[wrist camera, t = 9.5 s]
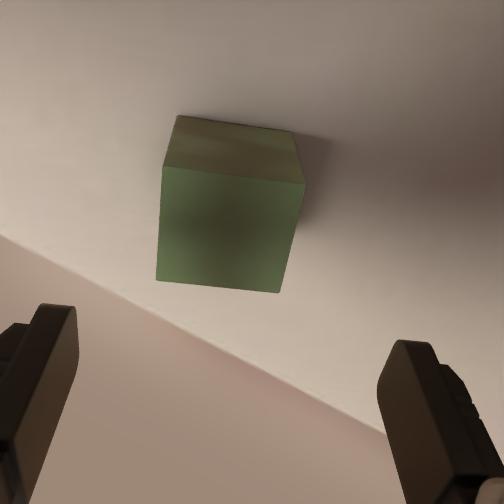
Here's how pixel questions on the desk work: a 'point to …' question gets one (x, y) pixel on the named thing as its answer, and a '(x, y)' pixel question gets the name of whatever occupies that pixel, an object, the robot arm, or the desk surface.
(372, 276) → the desk surface
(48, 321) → the robot arm
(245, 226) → the block
